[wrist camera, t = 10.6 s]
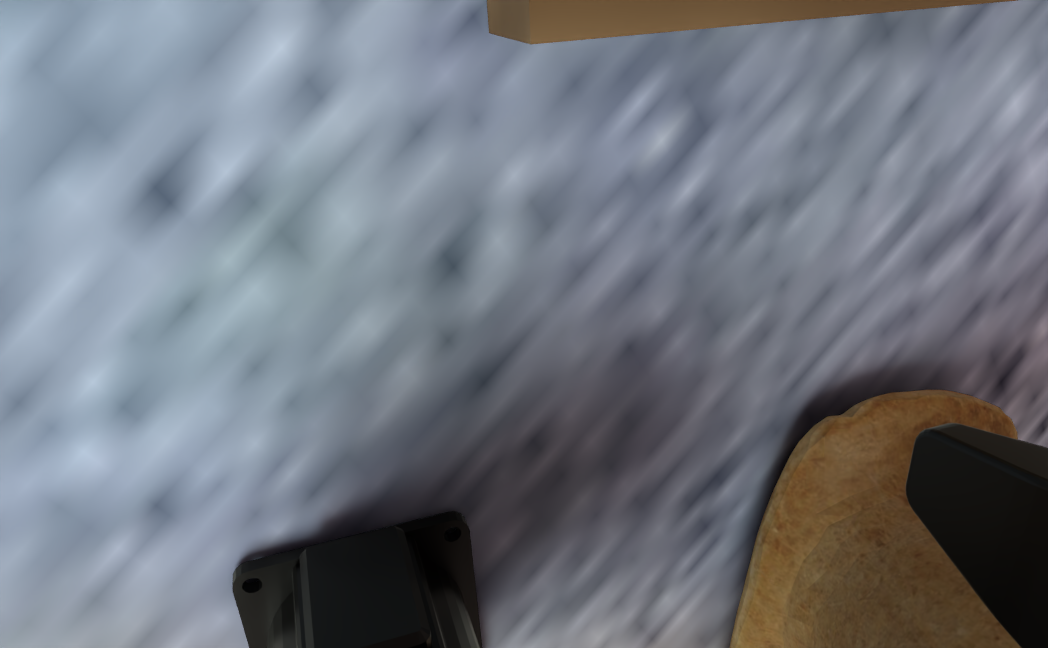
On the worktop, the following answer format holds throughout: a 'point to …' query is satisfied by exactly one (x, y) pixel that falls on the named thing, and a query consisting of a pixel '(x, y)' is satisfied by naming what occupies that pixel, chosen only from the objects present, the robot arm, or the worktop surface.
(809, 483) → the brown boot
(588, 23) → the walnut base
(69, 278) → the worktop surface
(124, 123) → the worktop surface
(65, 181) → the worktop surface
